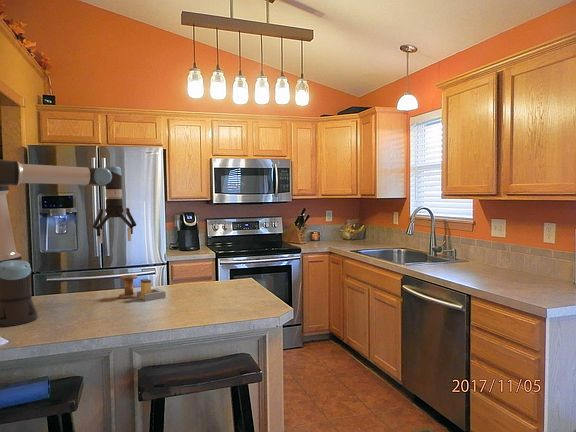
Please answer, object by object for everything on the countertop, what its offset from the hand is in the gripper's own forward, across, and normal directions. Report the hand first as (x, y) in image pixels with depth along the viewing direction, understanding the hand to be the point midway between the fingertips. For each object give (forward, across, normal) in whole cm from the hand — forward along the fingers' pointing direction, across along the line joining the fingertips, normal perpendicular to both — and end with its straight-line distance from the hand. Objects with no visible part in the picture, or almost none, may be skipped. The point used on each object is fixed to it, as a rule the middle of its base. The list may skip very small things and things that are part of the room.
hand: (115, 242), depth 203 cm
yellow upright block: (+27, +8, -15) cm, 32 cm away
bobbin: (+27, +4, -5) cm, 27 cm away
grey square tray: (+27, +11, -15) cm, 33 cm away
